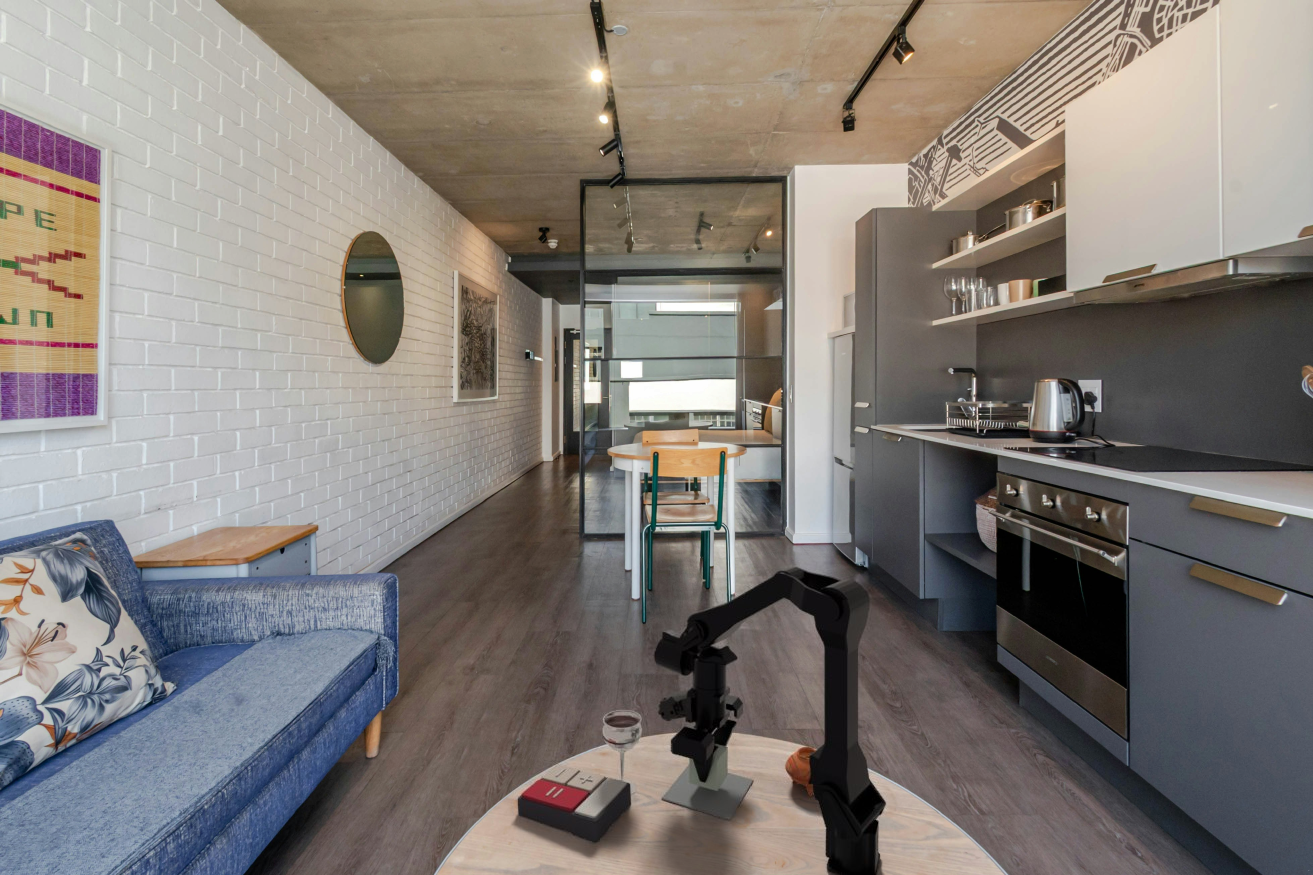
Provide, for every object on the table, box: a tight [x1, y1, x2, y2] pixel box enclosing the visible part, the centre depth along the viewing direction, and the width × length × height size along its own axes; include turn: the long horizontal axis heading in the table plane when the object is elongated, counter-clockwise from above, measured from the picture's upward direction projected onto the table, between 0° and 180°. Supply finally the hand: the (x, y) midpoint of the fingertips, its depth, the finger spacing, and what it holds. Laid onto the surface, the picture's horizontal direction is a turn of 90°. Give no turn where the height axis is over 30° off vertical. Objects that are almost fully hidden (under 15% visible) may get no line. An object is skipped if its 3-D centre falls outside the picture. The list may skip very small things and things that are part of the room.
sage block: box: [688, 744, 729, 791], centre depth 104 cm, size 5×5×5 cm
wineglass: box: [602, 709, 643, 795], centre depth 105 cm, size 7×7×12 cm
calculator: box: [517, 763, 632, 844], centre depth 99 cm, size 11×4×15 cm
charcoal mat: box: [661, 764, 754, 821], centre depth 105 cm, size 12×12×1 cm
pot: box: [784, 746, 817, 797], centre depth 106 cm, size 8×8×7 cm
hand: (708, 773), depth 104 cm, fingers closed on sage block, 5 cm apart
